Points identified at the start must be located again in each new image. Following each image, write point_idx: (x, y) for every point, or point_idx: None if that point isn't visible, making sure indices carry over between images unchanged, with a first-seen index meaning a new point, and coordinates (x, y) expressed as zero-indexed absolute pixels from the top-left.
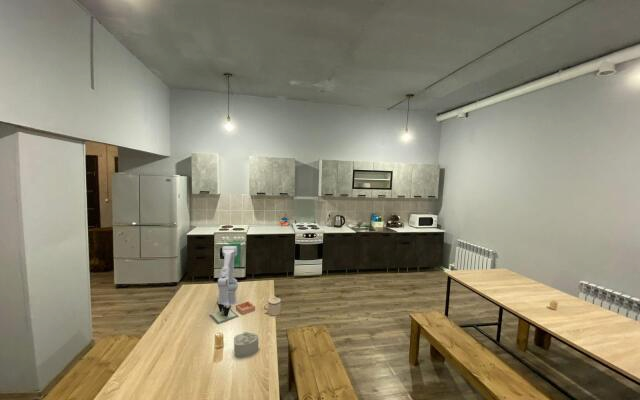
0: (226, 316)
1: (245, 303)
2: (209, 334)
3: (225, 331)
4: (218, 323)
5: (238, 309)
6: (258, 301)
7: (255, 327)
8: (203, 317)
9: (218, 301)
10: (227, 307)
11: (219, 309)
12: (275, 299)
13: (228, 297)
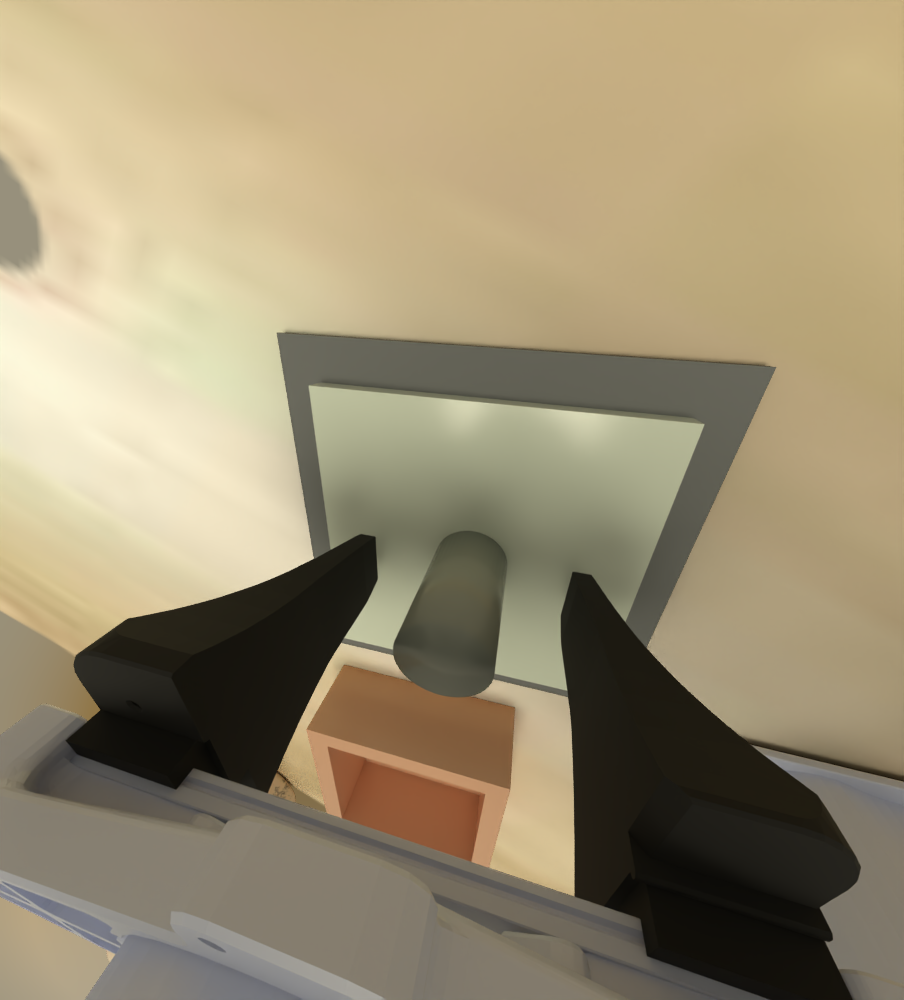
0: (394, 557)
1: (475, 833)
2: (33, 21)
3: (80, 347)
4: (302, 366)
5: (423, 729)
6: (493, 856)
7: (95, 601)
8: (843, 205)
9: (809, 900)
10: (31, 729)
11: (595, 604)
12: (110, 961)
13: (832, 949)
